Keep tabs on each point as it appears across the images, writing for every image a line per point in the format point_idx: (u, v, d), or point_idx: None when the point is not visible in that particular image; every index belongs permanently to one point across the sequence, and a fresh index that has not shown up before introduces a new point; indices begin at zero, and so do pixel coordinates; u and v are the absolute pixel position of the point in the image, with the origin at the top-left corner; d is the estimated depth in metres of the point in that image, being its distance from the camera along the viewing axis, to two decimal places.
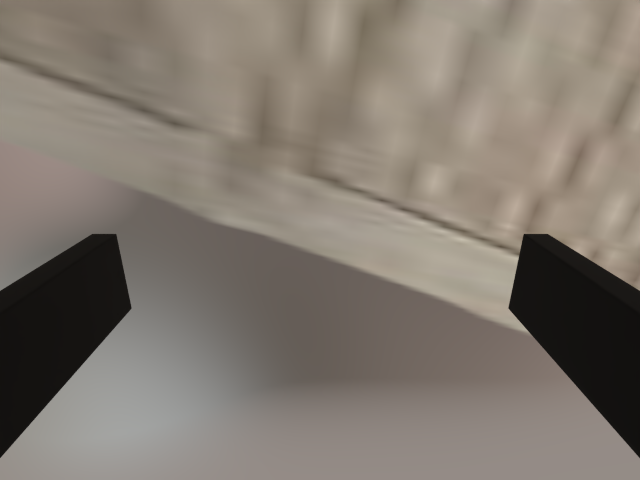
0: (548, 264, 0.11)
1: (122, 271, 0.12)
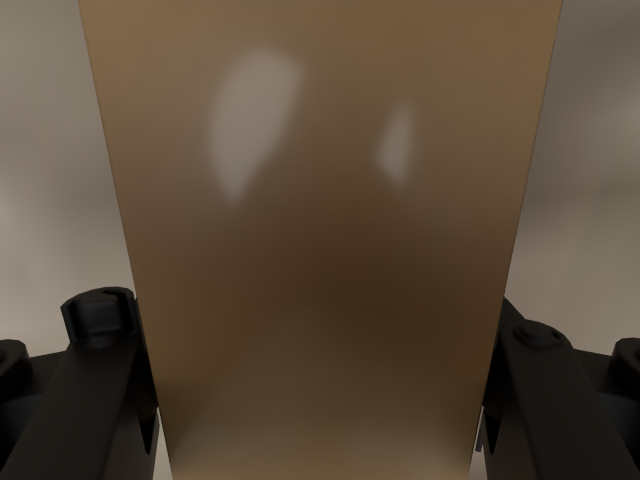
0: None
1: None
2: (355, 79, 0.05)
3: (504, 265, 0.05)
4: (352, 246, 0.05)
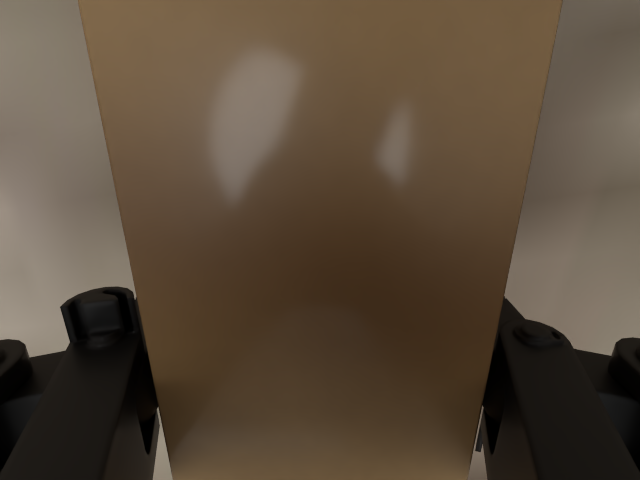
0: None
1: None
2: (355, 80, 0.05)
3: (504, 265, 0.05)
4: (352, 246, 0.05)
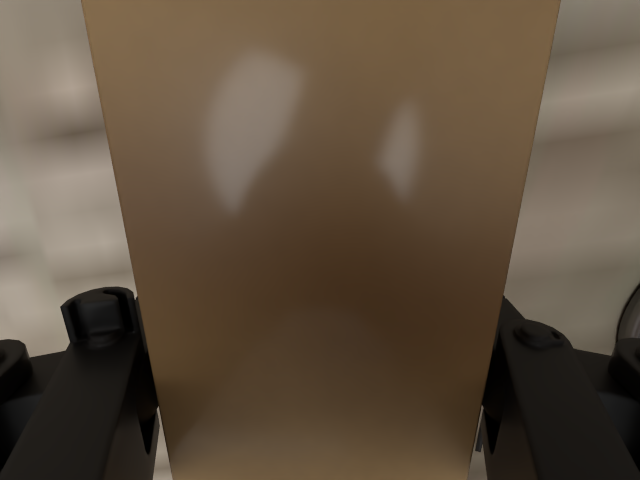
0: None
1: None
2: (354, 79, 0.05)
3: (503, 265, 0.05)
4: (351, 245, 0.05)
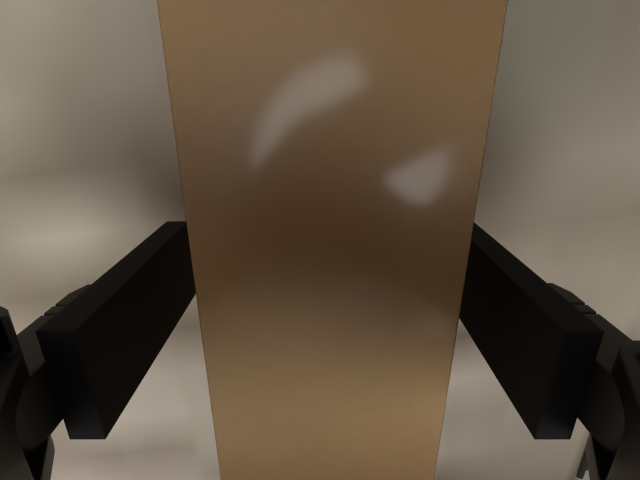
0: None
1: None
2: (356, 84, 0.06)
3: (469, 223, 0.07)
4: (354, 208, 0.07)
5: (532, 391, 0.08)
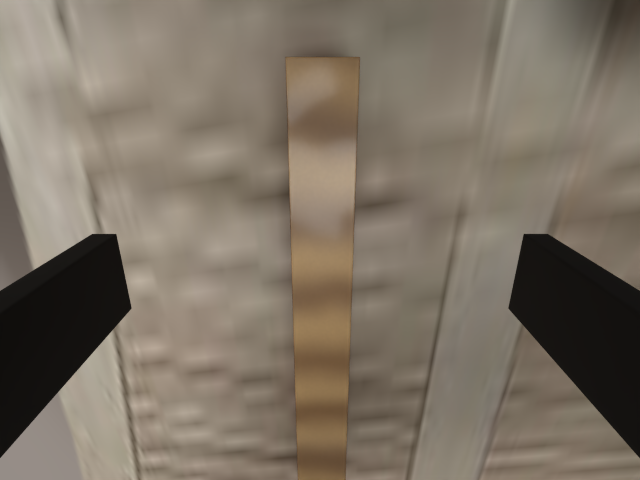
0: (548, 264, 0.11)
1: (122, 272, 0.12)
2: (328, 91, 0.29)
3: (356, 125, 0.30)
4: (328, 121, 0.29)
5: None
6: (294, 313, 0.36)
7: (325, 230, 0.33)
